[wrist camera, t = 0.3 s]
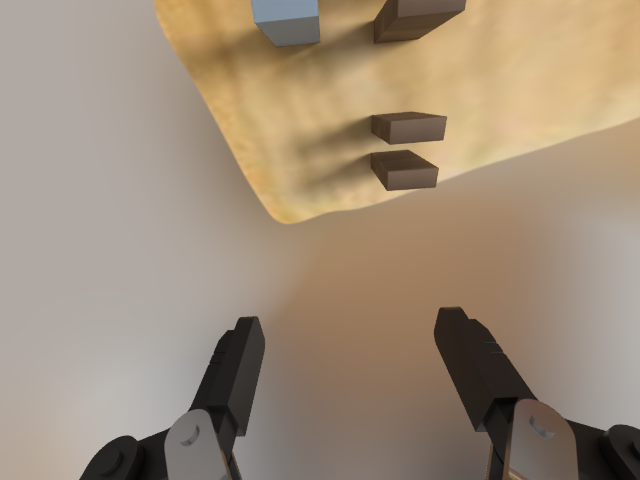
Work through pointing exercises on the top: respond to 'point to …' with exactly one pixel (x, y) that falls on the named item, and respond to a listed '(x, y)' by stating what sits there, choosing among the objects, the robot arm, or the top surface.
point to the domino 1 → (287, 21)
